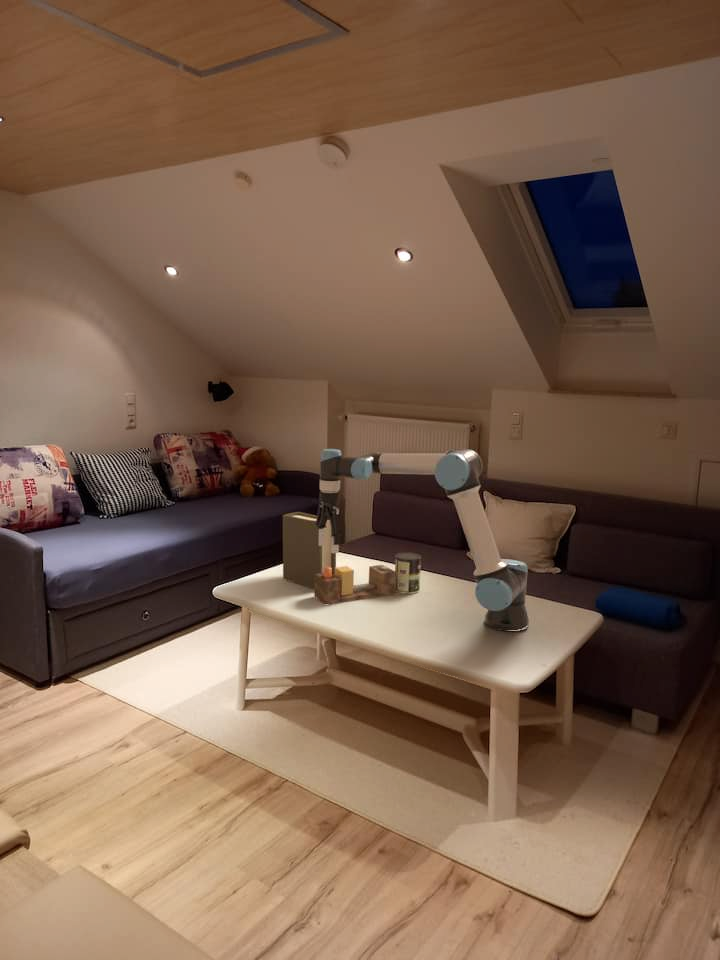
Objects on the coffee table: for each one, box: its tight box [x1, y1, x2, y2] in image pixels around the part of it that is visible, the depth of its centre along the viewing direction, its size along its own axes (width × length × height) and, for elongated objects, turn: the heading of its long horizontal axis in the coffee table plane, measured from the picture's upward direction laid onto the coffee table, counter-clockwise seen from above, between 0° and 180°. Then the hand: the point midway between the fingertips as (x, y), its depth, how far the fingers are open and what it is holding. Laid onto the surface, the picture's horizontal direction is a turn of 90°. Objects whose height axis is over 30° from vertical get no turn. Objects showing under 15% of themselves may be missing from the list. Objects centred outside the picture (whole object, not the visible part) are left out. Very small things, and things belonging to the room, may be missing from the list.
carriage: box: [335, 565, 355, 596], centre depth 272 cm, size 5×6×9 cm
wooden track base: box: [313, 564, 396, 605], centre depth 275 cm, size 30×10×10 cm, turn 119°
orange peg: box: [324, 567, 332, 579], centre depth 268 cm, size 3×3×6 cm
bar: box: [353, 582, 376, 593], centre depth 275 cm, size 17×2×2 cm, turn 119°
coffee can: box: [394, 552, 422, 595], centre depth 282 cm, size 10×10×14 cm
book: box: [282, 511, 337, 589], centre depth 287 cm, size 22×9×28 cm, turn 50°
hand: (328, 549), depth 266 cm, fingers open, 10 cm apart
